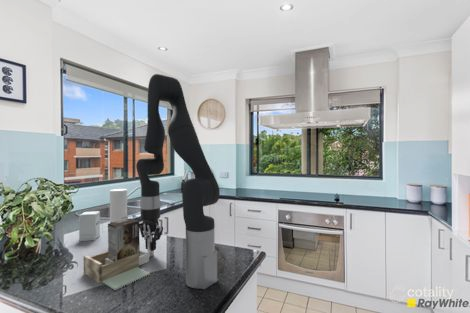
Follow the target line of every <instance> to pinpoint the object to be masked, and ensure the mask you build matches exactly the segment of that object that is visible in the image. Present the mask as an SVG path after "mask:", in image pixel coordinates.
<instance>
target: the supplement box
mask: <svg viewBox="0 0 470 313" xmlns="http://www.w3.org/2000/svg"><path fill="white" fill-rule="evenodd" d="M78 219H79V221H78V227H79V228H78V231H79V232H78V236H79V237H78V241H79V242H87V241H88V242H89V241H96V240H97V239H98V237H99V236H101V233H100V232H101V228H100V227H101V212H100V210H99V211H98V210H96V211H95V210H94V211H93V210H92V211H84V212H83V213H81V214H79V215H78Z"/></svg>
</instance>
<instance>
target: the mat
mask: <svg viewBox="0 0 470 313" xmlns="http://www.w3.org/2000/svg"><path fill="white" fill-rule="evenodd" d="M147 275H148V276H149V275H151V273H150V272H149V271H146V270H144V269H142V268H140V267H139V268H138V267H136V268H133V269H131V270H128V271H126V272H123V273H121V274H118V275H116V276H113V277H110V278H108V279H105V280H103V282H102V283H103V284H104V283H105V284H104V285H106V286H107V287H109V288H110V289H113V290H114V291H117V290H119V289H121V288H124V287H125V285H126V286H128V285H130V284H133V283H135V282H137V281H138V279H139V280H141V278H142V279H144V278H146V277H148V276H147ZM145 276H146V277H145ZM143 277H144V278H143ZM136 280H137V281H136ZM134 281H135V282H134ZM132 282H133V283H132ZM123 286H124V287H123Z"/></svg>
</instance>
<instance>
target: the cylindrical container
mask: <svg viewBox="0 0 470 313" xmlns="http://www.w3.org/2000/svg"><path fill="white" fill-rule="evenodd" d="M125 219H128V189H127V188H115V189H110V190H109V223H113V222H117V221H121V220H125Z"/></svg>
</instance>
